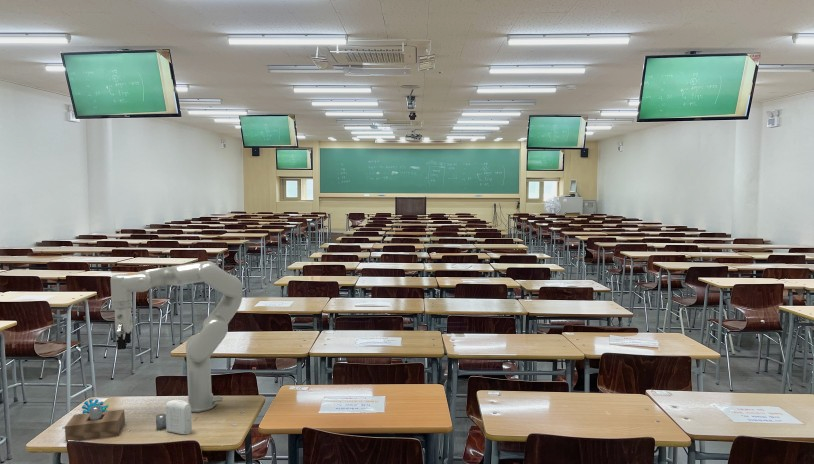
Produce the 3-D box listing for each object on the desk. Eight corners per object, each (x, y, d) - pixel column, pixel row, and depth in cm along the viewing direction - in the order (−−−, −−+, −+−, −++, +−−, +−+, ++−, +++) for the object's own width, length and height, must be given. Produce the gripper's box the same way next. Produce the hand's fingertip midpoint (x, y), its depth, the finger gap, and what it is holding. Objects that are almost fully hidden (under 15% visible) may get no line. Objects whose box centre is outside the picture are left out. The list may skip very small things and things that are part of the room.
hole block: (124, 423, 231) (124, 409, 230) (118, 435, 219) (117, 420, 219) (74, 429, 226) (74, 414, 225) (65, 442, 214) (64, 426, 214)
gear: (88, 420, 230) (79, 400, 234) (81, 429, 232) (73, 408, 236) (114, 415, 240) (105, 395, 244) (107, 423, 242) (99, 403, 246)
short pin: (168, 425, 228) (167, 413, 228) (166, 429, 225) (166, 416, 224) (157, 426, 227) (156, 414, 227) (155, 430, 223) (155, 418, 223)
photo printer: (193, 431, 222) (192, 400, 221) (185, 435, 218) (184, 403, 217) (173, 427, 226) (171, 397, 225) (164, 432, 222) (163, 400, 221)
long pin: (103, 429, 225) (101, 405, 224) (101, 433, 221) (99, 408, 220) (92, 431, 224) (90, 406, 223) (89, 435, 220) (87, 409, 219)
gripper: (128, 308, 226) (130, 350, 227) (136, 300, 243) (138, 340, 244) (107, 309, 224) (109, 352, 225) (116, 301, 241) (118, 341, 242)
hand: (124, 346), depth 234 cm, fingers open, 9 cm apart
